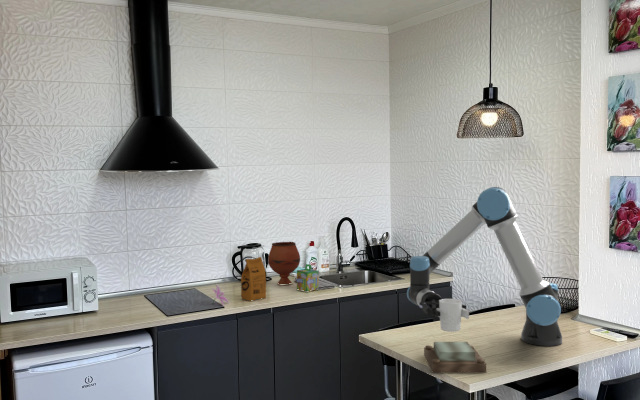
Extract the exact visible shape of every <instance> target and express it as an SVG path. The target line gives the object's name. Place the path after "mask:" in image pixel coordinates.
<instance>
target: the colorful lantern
mask: <svg viewBox="0 0 640 400" xmlns="http://www.w3.org/2000/svg"><path fill="white" fill-rule="evenodd" d="M316 288H318V289H319V270H317V269H312V264H307V263H305V267H304V269H296V290H297V289H299V290H304V291H310V290H315V289H316ZM299 290H298V291H299Z"/></svg>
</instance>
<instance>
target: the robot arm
mask: <svg viewBox="0 0 640 400" xmlns="http://www.w3.org/2000/svg"><path fill="white" fill-rule="evenodd" d="M517 217H518V214H517V211H516V209H515V208H514V205H513V203H512V200H511V197H510V194H509V192H507V190H505V189H504V188H502V187H499V186H492V187H489V188H486V189H483V191H481V193H480V194H479V195H478V198H477V200H476V202H475V203H474V204H473V205H472V206H471V210H470V211H469V212H468V213H467V214H466V215H465V216H464V217H463V218H462V219H460V220H459V221H458V222H457V223H456V224H455V225H454V226H453V227H451V229H449V230H448V231H447V233H445V234H444V235H443V236H442V237H441V238H440V239H439V240H438V241H437V242H436V243H435V244H433V246H431V247H430V248H429V249H428V250H427V251H426V252H425V253H424V254H423V255H414V256H411V257H410V263H409V269H410V271H409V275H410V276H409V279H410V281H409V283H410V284H409V287H408V288H407V290H406V296H407V299H408V301H410V302H411V303H412V304H413V305H416V306H418V307H419V310H421V311H422V312H423V313H424V314H425V315H427V316H431V315H432V318H434V319H435V318H437V317H438V318H439V319H440V318H441V319H443V320H446V312H445V311H443V310H441V309H439V300H441V299H443V298H442V297H441V295H440V294H438V293H436V292H434V291H433V290H430V275H431V274H432V273H433V272H434V271H435V270H437V268H438V267H439V266H440V265H441V264H442V263H444V262H445V261H446V260H447V259H448V258H449V257H451V255H453V253H455V252H456V251H457V250H459V248H460V247H461V246H462V245H463V244H465V242H467V241H468V240H469V239H470V238H472V236H473V235H475V233H477V231H479V230H480V229H481V228H483V226H485V224H486V226H487V228H488V229H490V230H492V231H493V232H494V234H495V235H496V238H497V240H498V243H499V245H500V247H501V249H502V251H503V253H504V255H505V257H506V259H507V262H508V263H509V265H510V268H511V270H512V272H513V275H514V276H515V278H516V280H517V282H518V285H519V287H520V291H519V297H520V298H521V301H522V303H523V306H524V308H525V322H524V325H523V328H522V331H521V333H520V334H521V335H520V337H521V338H520V339H521V341H522V342H524V343H527V344H530V345H534V346H540V347H541V346H542V347H544V346H545V347H549V346H550V347H553V346H560V345H561V344H563V336H562V332H561V328H560V326H559V321H558V320H559V319H560V316H561V312H562V306H561V304H560V302H559V289H558V288H559V286H558V285H557V283H550V282H549V281H547V280H544V279H543V276H542V273H541V272H540V270H539V268H538V266H537V263H536V261H535V260H534V257H533V256H532V252H531V251H530V249H529V247H528V245H527V242H526V240H525V238H524V236H523V234H522V232H521V229H520V227H519V225H518V224H517V222H516V220H517V219H518V218H517ZM461 317H463V318H465V319H467V320H469V318H470V311H469V310H468V309H467V305H465V304H463V303H462V313H461Z"/></svg>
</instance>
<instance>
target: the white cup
mask: <svg viewBox="0 0 640 400" xmlns="http://www.w3.org/2000/svg"><path fill="white" fill-rule="evenodd" d="M462 304H463V301H462V300H460V299H456V298H442V299H441V300H439V309H441V310H443V311H445V312H446V320H443V319H441V318H439V321H440V322H439V323H440V330H442V331H444V332H451V333H452V332H453V333H454V332H455V333H456V332H459V331H460V330H461V323H462V316H461V313H462Z"/></svg>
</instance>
